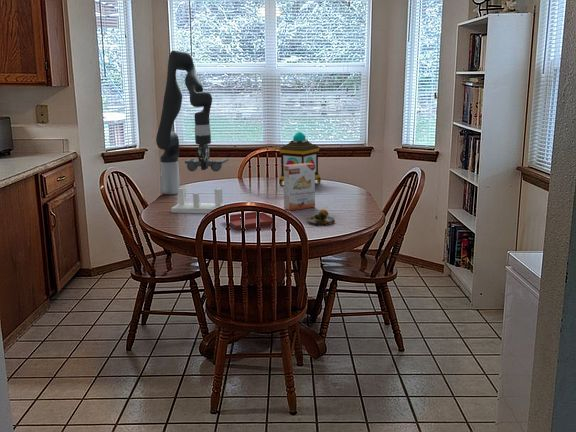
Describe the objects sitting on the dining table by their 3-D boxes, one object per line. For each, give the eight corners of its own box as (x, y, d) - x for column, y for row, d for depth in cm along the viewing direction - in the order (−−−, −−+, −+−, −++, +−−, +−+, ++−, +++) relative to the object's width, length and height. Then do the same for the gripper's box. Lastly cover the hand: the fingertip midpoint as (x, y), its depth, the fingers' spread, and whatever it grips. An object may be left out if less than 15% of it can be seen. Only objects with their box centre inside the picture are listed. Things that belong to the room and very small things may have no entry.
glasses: (185, 171, 290) (184, 161, 288) (192, 167, 300) (191, 157, 299) (222, 171, 286) (222, 161, 285) (228, 168, 297) (228, 158, 296)
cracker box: (289, 211, 273) (288, 166, 268) (283, 208, 278) (282, 164, 273) (315, 207, 279) (315, 163, 274) (309, 205, 284) (309, 162, 279)
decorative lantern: (295, 180, 351) (295, 129, 344) (324, 183, 340) (323, 130, 333) (275, 185, 335) (274, 132, 328) (304, 189, 324) (303, 134, 317)
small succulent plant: (310, 219, 259) (310, 202, 257) (337, 220, 256) (337, 203, 254) (303, 225, 248) (303, 208, 246) (331, 227, 244) (331, 209, 243)
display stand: (171, 212, 275) (169, 191, 273) (180, 206, 287) (178, 186, 284) (218, 213, 271) (217, 192, 269) (225, 207, 283) (225, 187, 280)
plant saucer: (235, 232, 239) (235, 224, 239) (222, 222, 256) (221, 215, 255) (276, 227, 246) (276, 219, 246) (261, 218, 263) (261, 210, 262)
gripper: (199, 132, 293) (201, 167, 297) (190, 135, 279) (192, 171, 283) (214, 132, 291) (216, 167, 295) (205, 135, 278) (207, 171, 282)
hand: (204, 169), depth 289 cm, fingers closed on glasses, 3 cm apart
